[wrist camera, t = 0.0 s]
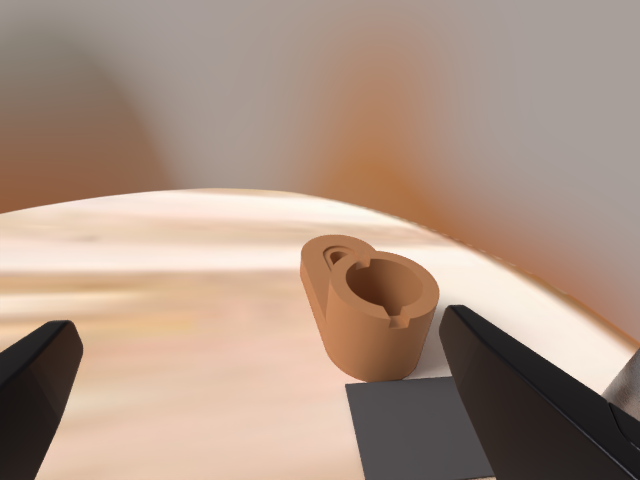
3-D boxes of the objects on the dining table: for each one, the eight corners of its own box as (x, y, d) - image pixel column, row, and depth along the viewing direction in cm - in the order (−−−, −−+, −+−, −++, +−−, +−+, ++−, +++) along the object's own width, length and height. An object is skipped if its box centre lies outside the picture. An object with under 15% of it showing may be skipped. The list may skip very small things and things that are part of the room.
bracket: (437, 374, 28) (462, 310, 24) (339, 393, 26) (350, 327, 22) (359, 251, 42) (367, 200, 39) (293, 257, 40) (295, 204, 37)
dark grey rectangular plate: (507, 474, 21) (508, 473, 21) (367, 491, 20) (368, 489, 20) (456, 377, 27) (456, 376, 27) (345, 385, 26) (345, 384, 26)
